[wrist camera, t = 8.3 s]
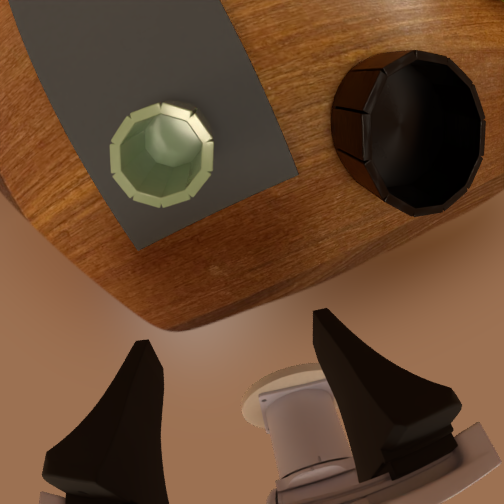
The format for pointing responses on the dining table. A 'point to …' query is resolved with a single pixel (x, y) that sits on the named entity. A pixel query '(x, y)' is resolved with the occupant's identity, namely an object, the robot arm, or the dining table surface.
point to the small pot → (163, 153)
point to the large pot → (410, 129)
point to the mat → (155, 95)
